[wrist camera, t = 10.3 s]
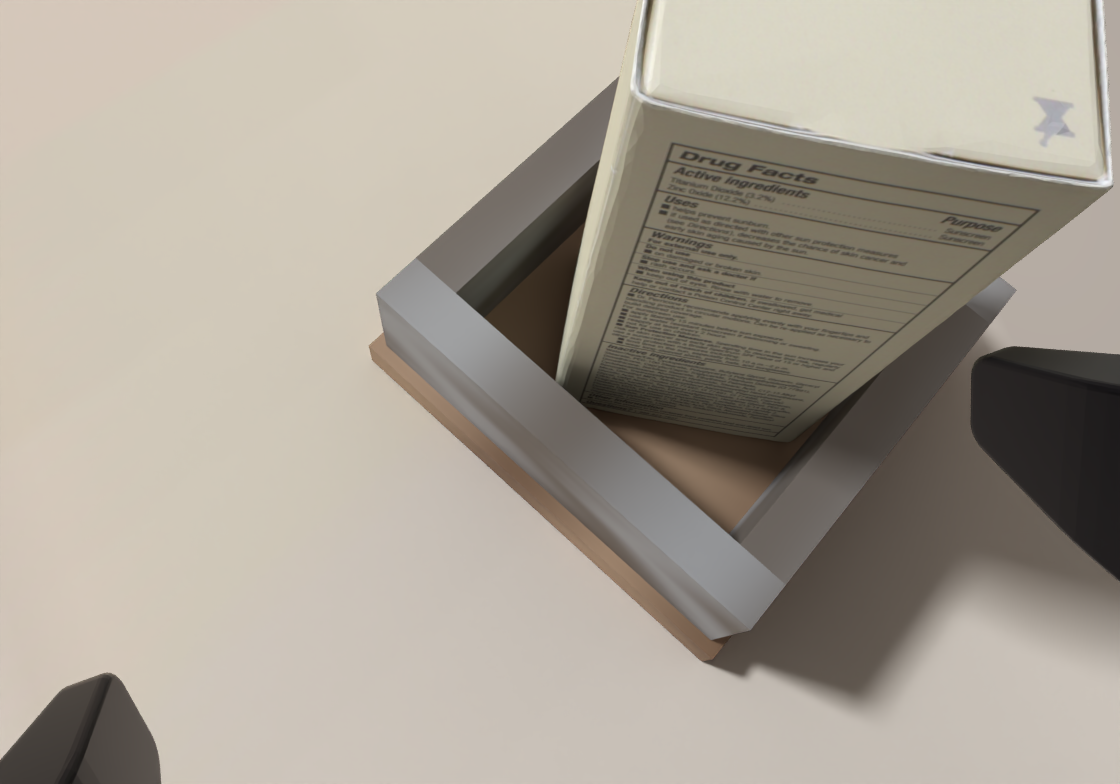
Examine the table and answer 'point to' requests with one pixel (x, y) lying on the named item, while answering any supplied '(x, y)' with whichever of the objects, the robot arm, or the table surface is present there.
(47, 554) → the table surface
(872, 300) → the skincare box
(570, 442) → the socket
